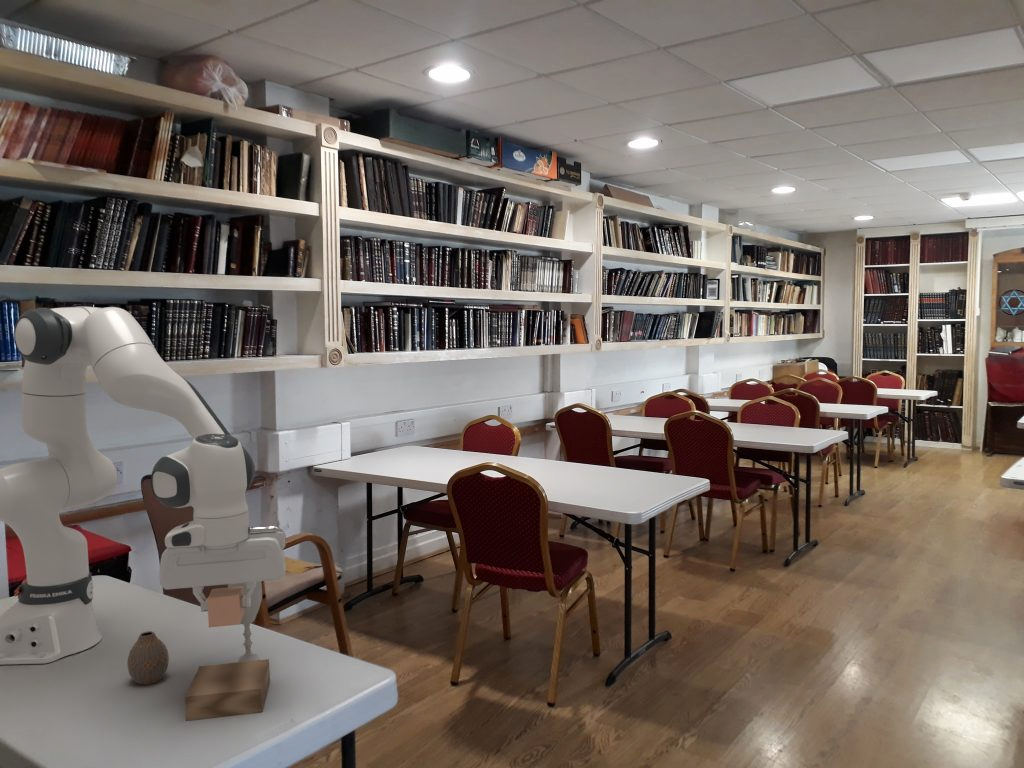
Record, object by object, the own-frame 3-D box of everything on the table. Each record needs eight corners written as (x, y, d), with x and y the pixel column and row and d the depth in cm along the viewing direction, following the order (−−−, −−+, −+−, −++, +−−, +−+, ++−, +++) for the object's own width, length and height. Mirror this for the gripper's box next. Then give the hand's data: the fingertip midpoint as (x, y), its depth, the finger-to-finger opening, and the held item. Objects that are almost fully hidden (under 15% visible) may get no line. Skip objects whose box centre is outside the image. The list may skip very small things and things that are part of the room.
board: (186, 720, 127) (185, 697, 127) (200, 688, 139) (199, 666, 138) (262, 711, 129) (261, 688, 129) (270, 680, 141) (269, 659, 141)
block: (208, 627, 130) (207, 598, 130) (214, 617, 135) (212, 589, 135) (239, 624, 131) (238, 595, 131) (244, 614, 136) (242, 586, 136)
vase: (143, 691, 138) (140, 643, 137) (120, 683, 142) (117, 636, 141) (177, 676, 144) (175, 630, 143) (155, 668, 147) (152, 623, 147)
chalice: (255, 678, 142) (250, 582, 141) (221, 675, 144) (217, 580, 142) (275, 661, 149) (270, 570, 148) (243, 659, 151) (238, 568, 150)
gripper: (286, 520, 137) (290, 596, 138) (163, 529, 133) (168, 608, 134) (283, 529, 131) (287, 609, 132) (154, 538, 127) (159, 621, 128)
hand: (226, 608), depth 133 cm, fingers closed on block, 5 cm apart
